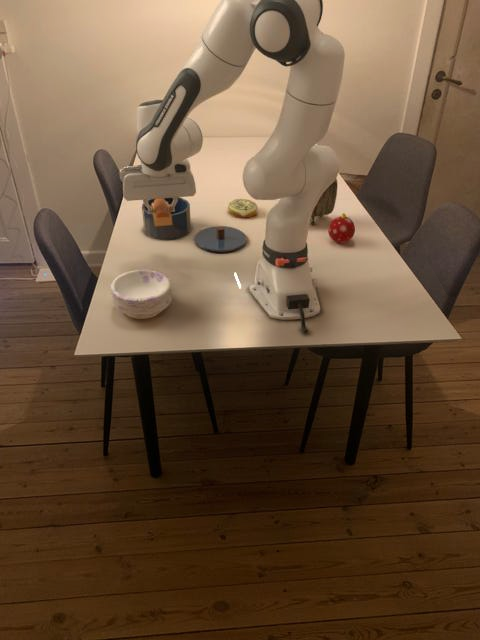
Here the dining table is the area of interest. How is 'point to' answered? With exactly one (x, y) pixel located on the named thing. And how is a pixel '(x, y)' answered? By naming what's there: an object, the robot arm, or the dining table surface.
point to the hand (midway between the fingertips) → (161, 211)
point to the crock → (179, 221)
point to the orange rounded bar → (161, 212)
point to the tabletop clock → (325, 202)
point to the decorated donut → (242, 208)
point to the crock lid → (220, 238)
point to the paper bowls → (141, 293)
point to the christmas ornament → (341, 229)
